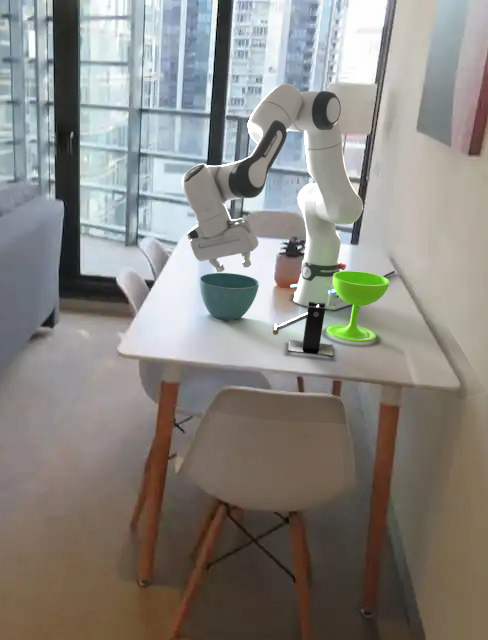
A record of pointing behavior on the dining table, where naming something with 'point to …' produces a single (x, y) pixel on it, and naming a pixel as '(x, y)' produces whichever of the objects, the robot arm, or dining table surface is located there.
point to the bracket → (312, 333)
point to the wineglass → (357, 300)
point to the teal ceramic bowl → (228, 294)
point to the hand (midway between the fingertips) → (234, 268)
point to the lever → (289, 322)
